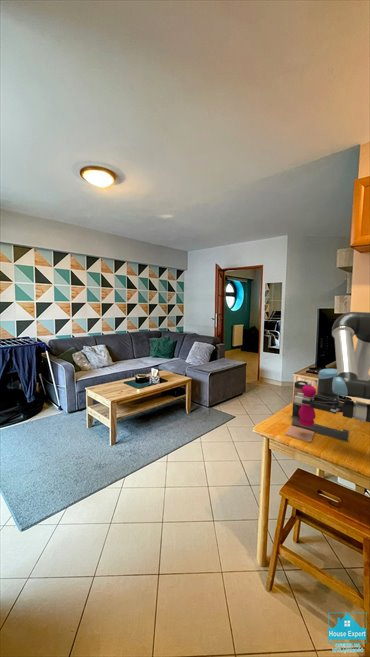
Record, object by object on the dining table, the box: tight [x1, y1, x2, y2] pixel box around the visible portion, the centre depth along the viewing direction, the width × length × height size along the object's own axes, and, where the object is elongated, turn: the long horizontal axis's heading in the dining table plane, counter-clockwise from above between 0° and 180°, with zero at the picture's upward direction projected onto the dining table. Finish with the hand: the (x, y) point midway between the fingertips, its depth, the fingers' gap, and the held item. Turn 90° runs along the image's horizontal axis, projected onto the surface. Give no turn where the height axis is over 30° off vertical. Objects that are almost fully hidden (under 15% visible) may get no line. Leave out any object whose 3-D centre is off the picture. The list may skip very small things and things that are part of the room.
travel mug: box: [291, 380, 309, 419], centre depth 139 cm, size 8×8×20 cm
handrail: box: [291, 416, 350, 443], centre depth 125 cm, size 24×2×4 cm, turn 55°
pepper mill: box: [299, 381, 317, 426], centre depth 120 cm, size 7×7×20 cm
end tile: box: [285, 424, 316, 444], centre depth 123 cm, size 11×11×1 cm
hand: (296, 397), depth 123 cm, fingers closed on pepper mill, 5 cm apart
